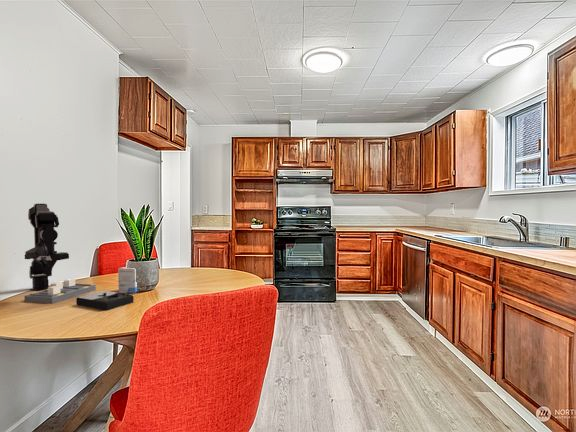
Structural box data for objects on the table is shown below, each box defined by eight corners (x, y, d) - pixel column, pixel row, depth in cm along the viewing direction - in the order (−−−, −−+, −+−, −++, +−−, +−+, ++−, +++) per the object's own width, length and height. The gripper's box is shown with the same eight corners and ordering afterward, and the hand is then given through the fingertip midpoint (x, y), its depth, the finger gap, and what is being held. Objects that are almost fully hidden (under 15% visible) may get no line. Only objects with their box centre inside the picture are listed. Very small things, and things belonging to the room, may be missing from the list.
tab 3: (63, 286, 167) (63, 280, 167) (70, 284, 170) (70, 278, 170) (69, 286, 166) (68, 280, 166) (75, 285, 169) (75, 279, 169)
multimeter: (106, 311, 137) (106, 299, 136) (75, 306, 145) (75, 294, 145) (134, 303, 148) (133, 291, 148) (104, 298, 157) (104, 287, 157)
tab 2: (47, 294, 152) (47, 287, 152) (55, 292, 155) (54, 285, 155) (53, 294, 151) (53, 288, 151) (60, 292, 154) (60, 286, 154)
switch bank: (24, 301, 151) (24, 294, 151) (70, 288, 174) (70, 282, 174) (52, 303, 147) (52, 296, 147) (95, 290, 171) (95, 284, 170)
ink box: (140, 290, 169) (140, 266, 169) (134, 293, 164) (134, 268, 164) (124, 290, 170) (123, 266, 170) (118, 292, 165) (117, 268, 165)
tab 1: (50, 289, 160) (50, 283, 160) (57, 288, 163) (57, 281, 163) (56, 290, 159) (56, 283, 159) (62, 288, 163) (62, 282, 163)
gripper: (11, 241, 148) (12, 277, 148) (46, 242, 143) (47, 279, 144) (36, 239, 159) (37, 272, 159) (69, 240, 154) (70, 274, 155)
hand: (47, 275), depth 154 cm, fingers closed
